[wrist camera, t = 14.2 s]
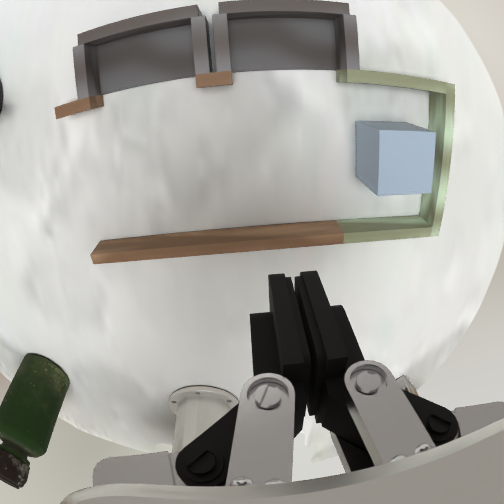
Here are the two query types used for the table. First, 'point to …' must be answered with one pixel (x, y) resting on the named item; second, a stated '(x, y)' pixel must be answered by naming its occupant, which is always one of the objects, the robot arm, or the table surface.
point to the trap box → (227, 61)
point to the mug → (0, 96)
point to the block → (394, 157)
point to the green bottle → (29, 416)
